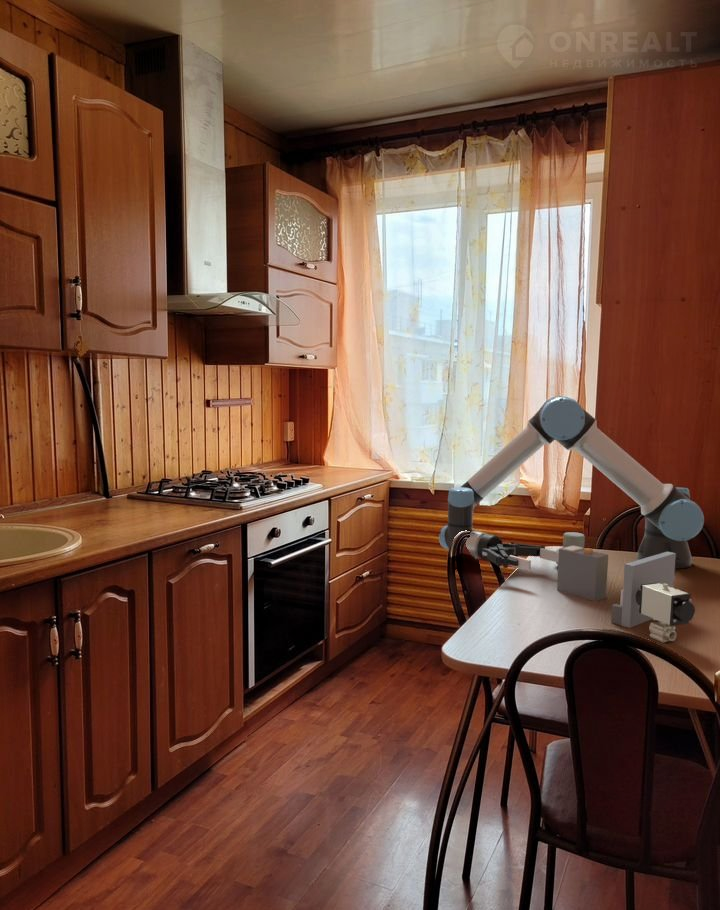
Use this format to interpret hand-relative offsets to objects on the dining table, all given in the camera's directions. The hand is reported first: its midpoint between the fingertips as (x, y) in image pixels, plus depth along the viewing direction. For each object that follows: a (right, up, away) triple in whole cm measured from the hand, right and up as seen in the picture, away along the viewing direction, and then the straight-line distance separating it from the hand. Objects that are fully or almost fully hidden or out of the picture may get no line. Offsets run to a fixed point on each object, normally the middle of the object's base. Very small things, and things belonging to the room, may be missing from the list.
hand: (545, 561), depth 186 cm
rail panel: (+16, -9, -25) cm, 31 cm away
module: (+7, -7, -8) cm, 13 cm away
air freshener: (+12, -5, +17) cm, 22 cm away
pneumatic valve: (+15, -11, -39) cm, 43 cm away
